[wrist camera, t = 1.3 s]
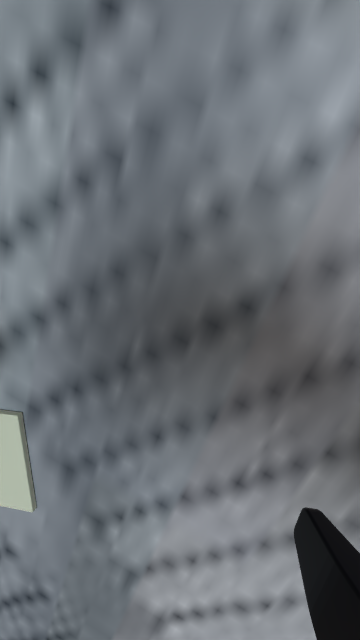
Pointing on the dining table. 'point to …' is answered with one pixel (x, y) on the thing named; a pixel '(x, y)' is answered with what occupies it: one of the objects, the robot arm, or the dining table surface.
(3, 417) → the mat
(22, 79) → the dining table surface
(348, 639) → the robot arm
